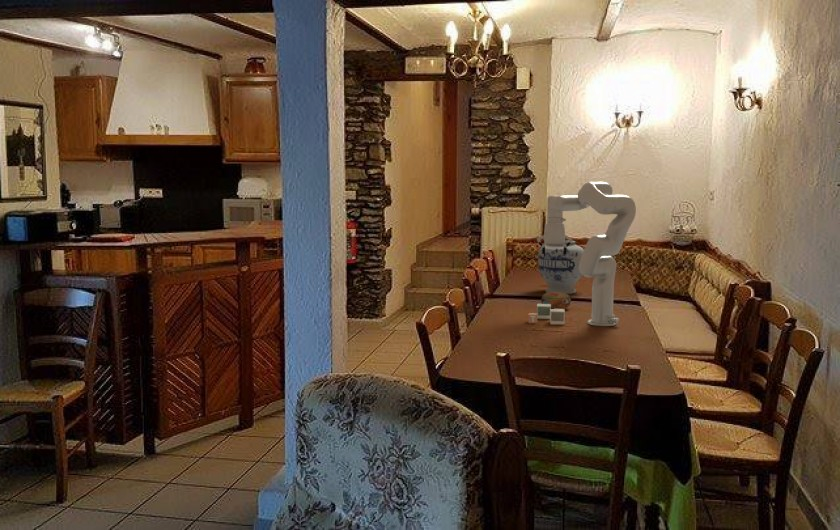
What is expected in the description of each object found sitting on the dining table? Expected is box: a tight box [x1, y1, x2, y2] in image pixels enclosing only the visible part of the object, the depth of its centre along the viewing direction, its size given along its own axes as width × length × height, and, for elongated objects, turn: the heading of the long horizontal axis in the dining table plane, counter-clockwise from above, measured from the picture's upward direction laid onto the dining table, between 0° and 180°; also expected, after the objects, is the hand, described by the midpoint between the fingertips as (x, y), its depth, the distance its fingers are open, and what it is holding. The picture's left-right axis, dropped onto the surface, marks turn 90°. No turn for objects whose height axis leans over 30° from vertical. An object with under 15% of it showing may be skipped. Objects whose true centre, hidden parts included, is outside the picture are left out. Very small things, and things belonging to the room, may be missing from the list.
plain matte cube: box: [536, 303, 551, 320], centre depth 353 cm, size 6×6×6 cm
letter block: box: [528, 312, 538, 324], centre depth 342 cm, size 4×4×4 cm
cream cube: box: [549, 309, 566, 325], centre depth 340 cm, size 6×6×6 cm
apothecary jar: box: [537, 239, 584, 295], centre depth 429 cm, size 27×27×30 cm
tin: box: [541, 292, 572, 310], centre depth 377 cm, size 15×3×8 cm, turn 62°
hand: (554, 255), depth 364 cm, fingers open, 9 cm apart
